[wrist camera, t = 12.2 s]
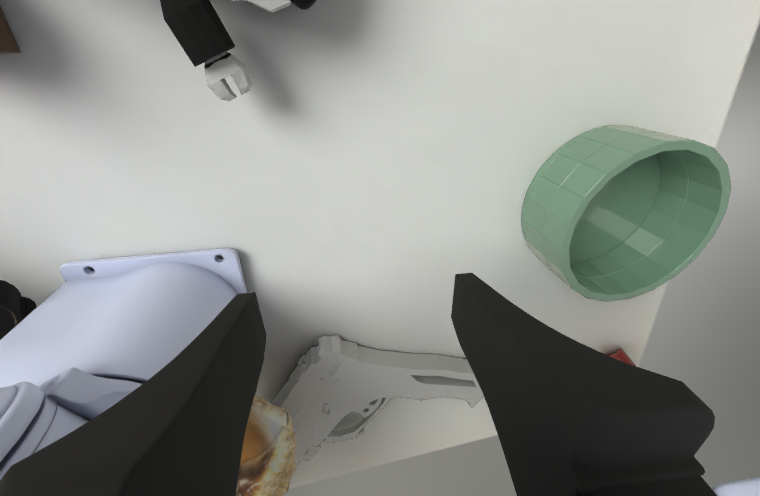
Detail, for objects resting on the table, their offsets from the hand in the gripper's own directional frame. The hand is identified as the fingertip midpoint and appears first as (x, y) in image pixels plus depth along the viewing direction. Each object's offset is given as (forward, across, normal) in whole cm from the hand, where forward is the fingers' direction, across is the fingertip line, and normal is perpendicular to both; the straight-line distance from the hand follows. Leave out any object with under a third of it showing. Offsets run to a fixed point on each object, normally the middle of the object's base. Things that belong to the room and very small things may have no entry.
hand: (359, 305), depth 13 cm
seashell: (+2, +9, +14) cm, 16 cm away
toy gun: (+8, -3, +27) cm, 28 cm away
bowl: (+10, -16, +1) cm, 19 cm away
